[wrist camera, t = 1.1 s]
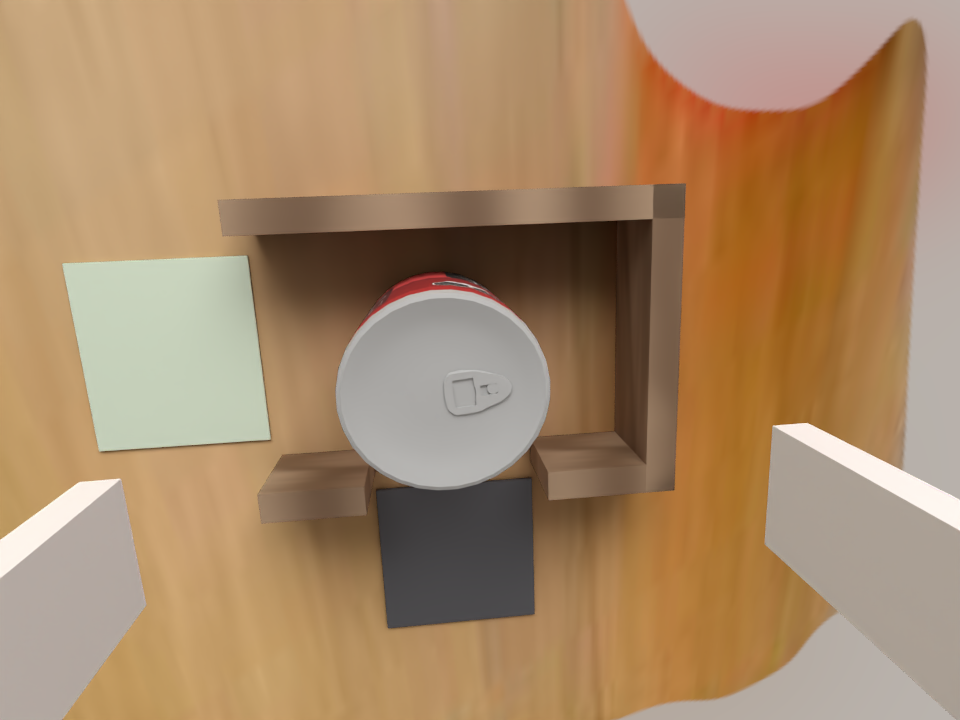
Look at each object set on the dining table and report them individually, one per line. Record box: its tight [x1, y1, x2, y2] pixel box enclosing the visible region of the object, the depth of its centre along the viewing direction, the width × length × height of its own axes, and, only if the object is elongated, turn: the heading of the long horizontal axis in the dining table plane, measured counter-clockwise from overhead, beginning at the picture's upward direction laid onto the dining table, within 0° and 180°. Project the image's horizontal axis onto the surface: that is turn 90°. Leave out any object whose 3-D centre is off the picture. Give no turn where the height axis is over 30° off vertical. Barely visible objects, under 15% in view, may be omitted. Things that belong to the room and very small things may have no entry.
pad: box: [62, 256, 271, 451], centre depth 31 cm, size 9×10×1 cm
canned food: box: [336, 272, 550, 490], centre depth 26 cm, size 8×8×11 cm
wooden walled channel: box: [218, 184, 686, 524], centre depth 29 cm, size 20×15×5 cm
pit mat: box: [376, 478, 535, 628], centre depth 35 cm, size 9×9×1 cm
